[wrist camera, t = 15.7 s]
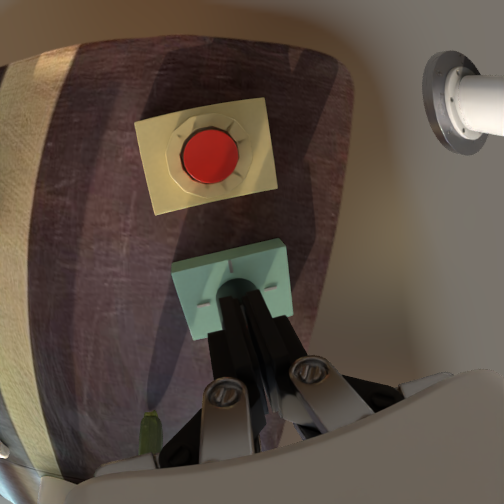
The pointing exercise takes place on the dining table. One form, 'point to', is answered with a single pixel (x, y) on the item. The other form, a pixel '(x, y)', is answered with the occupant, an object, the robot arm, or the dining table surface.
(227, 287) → the knob
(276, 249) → the dial panel
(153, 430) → the vegetable
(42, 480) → the cylinder
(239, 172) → the button block
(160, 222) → the dining table surface
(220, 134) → the button
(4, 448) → the garlic
